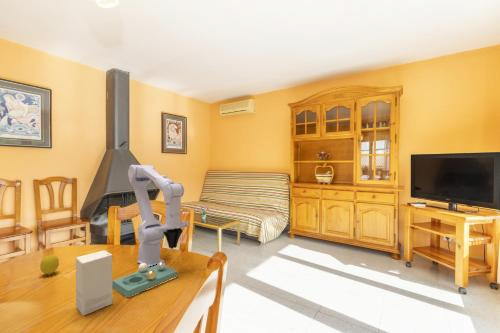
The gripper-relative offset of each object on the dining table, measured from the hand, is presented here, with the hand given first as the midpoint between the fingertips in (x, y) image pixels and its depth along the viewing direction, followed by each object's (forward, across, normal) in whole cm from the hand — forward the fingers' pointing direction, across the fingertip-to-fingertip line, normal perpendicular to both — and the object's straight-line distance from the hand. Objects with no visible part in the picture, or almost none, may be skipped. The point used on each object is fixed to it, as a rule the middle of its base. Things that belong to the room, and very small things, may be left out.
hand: (172, 247), depth 99 cm
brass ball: (+6, -12, -4) cm, 14 cm away
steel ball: (+6, -5, 0) cm, 8 cm away
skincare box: (+10, -29, -2) cm, 31 cm away
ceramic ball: (+6, -10, +4) cm, 12 cm away
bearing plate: (+10, -11, 0) cm, 15 cm away
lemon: (+10, -31, +34) cm, 47 cm away
